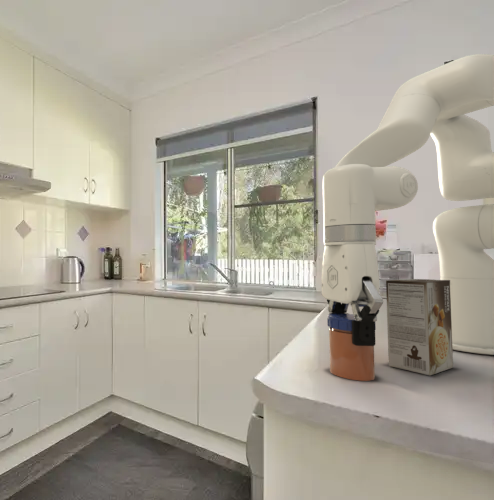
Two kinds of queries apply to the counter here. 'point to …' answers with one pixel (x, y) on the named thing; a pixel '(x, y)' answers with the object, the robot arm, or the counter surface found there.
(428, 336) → the coffee box
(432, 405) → the counter surface
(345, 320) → the lid
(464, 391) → the counter surface
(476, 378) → the counter surface
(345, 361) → the jar
